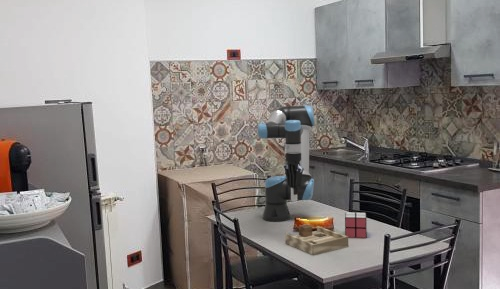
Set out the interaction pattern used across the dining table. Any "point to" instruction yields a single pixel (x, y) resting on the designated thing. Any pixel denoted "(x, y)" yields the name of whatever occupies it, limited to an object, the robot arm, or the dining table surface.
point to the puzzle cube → (355, 225)
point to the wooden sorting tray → (318, 241)
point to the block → (305, 230)
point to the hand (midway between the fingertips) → (294, 200)
